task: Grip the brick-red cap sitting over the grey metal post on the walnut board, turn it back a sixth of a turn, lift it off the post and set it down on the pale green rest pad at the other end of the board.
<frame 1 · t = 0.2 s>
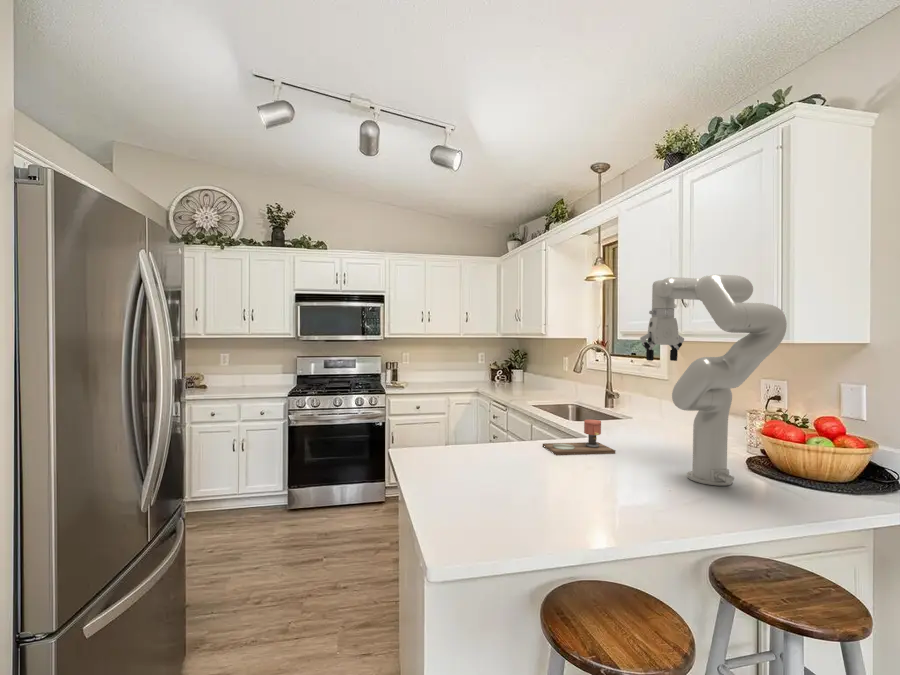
hand: (661, 360, 171), 36 cm above the worktop, tool pointing down, fingers open, 9 cm apart
post board: (578, 449, 183), on the worktop
cap: (592, 433, 184), point 6 cm above the worktop, touching post board
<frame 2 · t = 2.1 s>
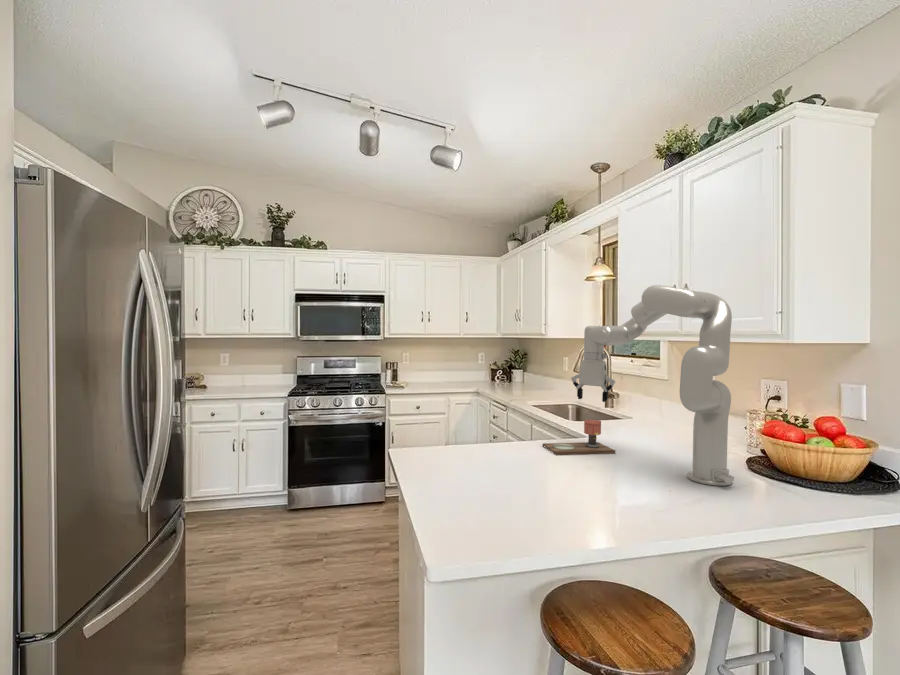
hand: (592, 400, 185), 20 cm above the worktop, tool pointing down, fingers open, 9 cm apart
nothing on the worktop moved.
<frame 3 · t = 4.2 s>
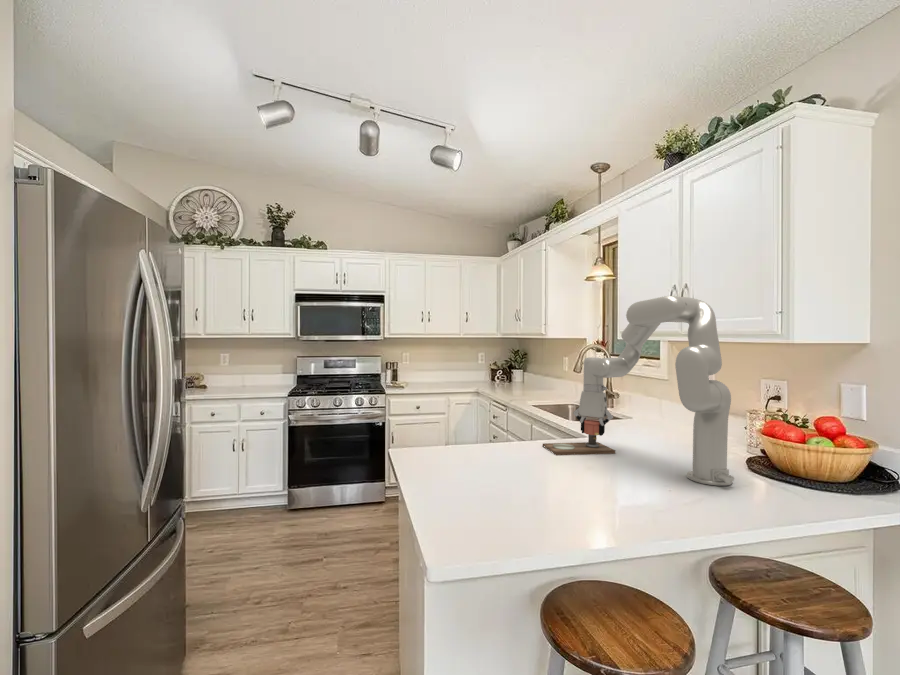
hand: (592, 433, 184), 6 cm above the worktop, tool pointing down, fingers closed on cap, 6 cm apart
cap: (592, 433, 184), point 6 cm above the worktop, touching gripper, post board
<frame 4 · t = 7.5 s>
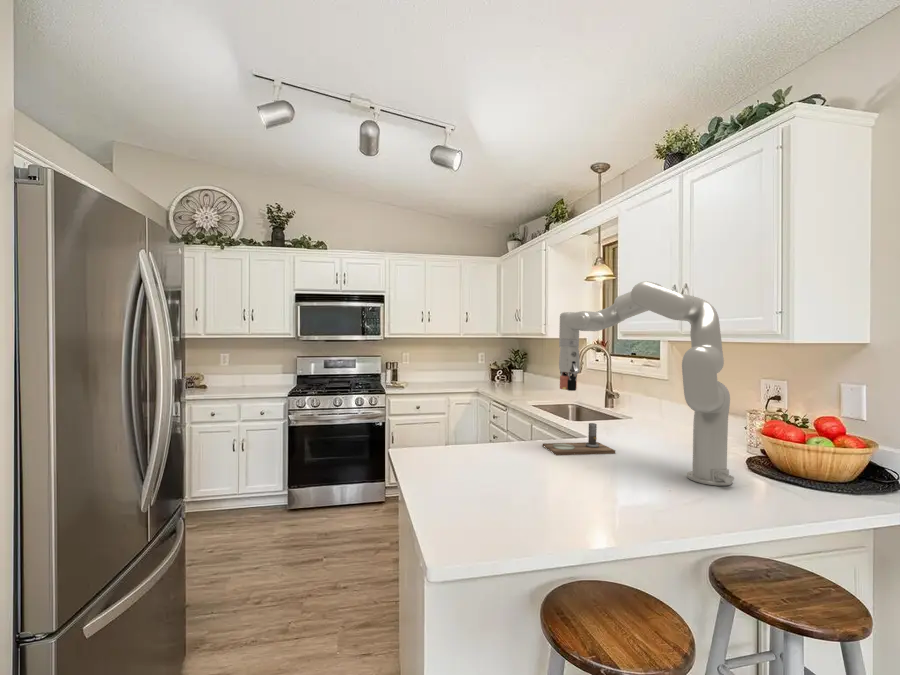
hand: (568, 389, 183), 24 cm above the worktop, tool pointing down, fingers closed on cap, 6 cm apart
cap: (568, 388, 183), point 24 cm above the worktop, touching gripper
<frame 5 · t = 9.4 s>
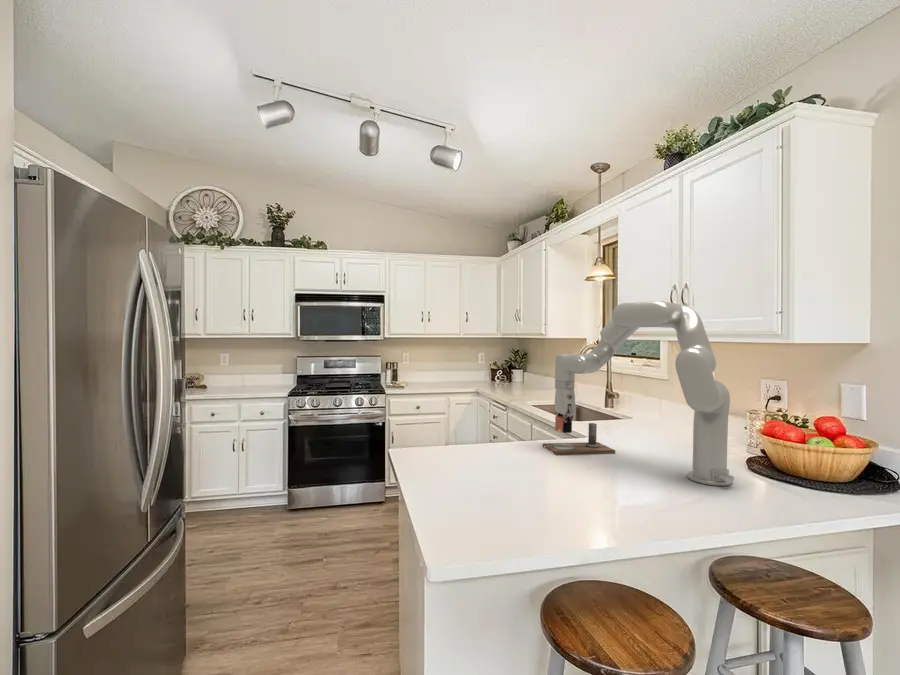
hand: (563, 430, 183), 8 cm above the worktop, tool pointing down, fingers closed on cap, 6 cm apart
cap: (563, 430, 183), point 8 cm above the worktop, touching gripper
when the fingers open (4 cm above the worktop, at t = 10.9 s): cap drops 2 cm, resting on post board.
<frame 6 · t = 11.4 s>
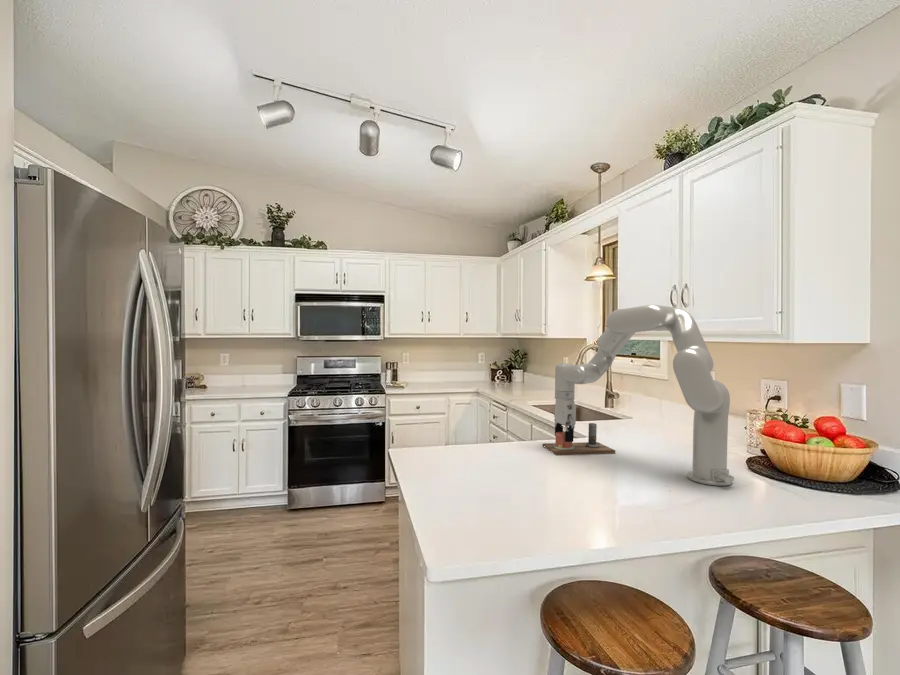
hand: (563, 438, 182), 5 cm above the worktop, tool pointing down, fingers open, 9 cm apart
cap: (563, 446, 182), point 2 cm above the worktop, touching post board
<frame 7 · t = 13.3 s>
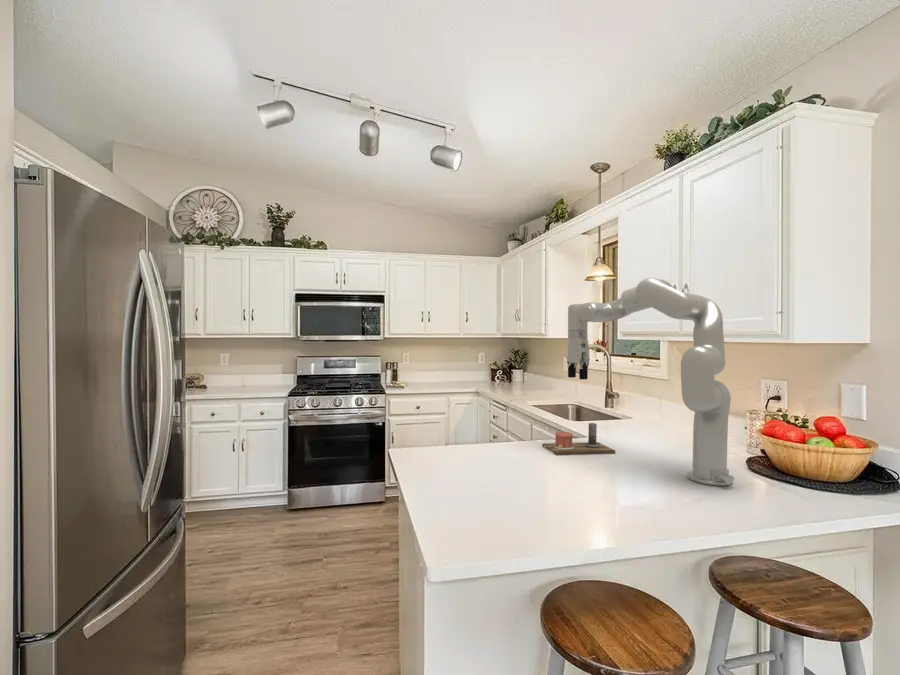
hand: (577, 378, 185), 28 cm above the worktop, tool pointing down, fingers open, 9 cm apart
nothing on the worktop moved.
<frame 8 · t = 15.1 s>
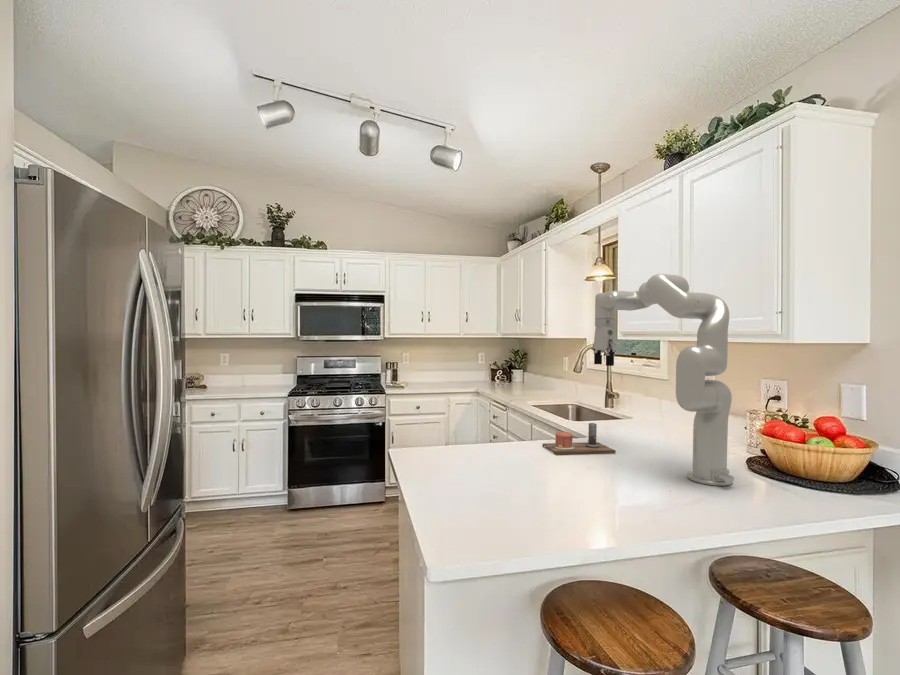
hand: (603, 364, 190), 33 cm above the worktop, tool pointing down, fingers open, 9 cm apart
nothing on the worktop moved.
at the end: cap inside the target area on the post board (0.0 cm from its centre), point 1.6 cm above the post board's base; cap tilted 0°; the gripper is holding nothing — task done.
